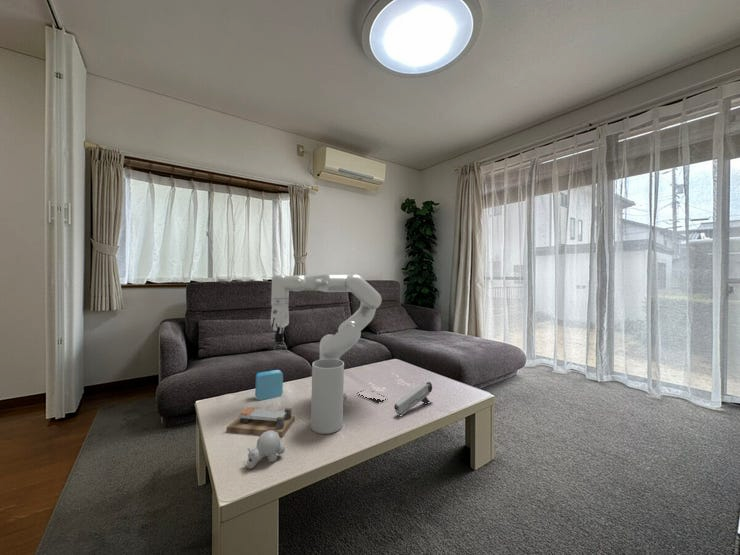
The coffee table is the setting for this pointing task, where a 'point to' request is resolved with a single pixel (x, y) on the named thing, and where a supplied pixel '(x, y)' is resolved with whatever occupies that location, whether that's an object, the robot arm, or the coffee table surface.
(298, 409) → the coffee table surface
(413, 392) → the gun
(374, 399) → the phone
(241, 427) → the latch base
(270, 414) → the latch lever
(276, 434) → the chubby cartoon animal
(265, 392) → the blue rounded block
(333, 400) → the cylinder vase
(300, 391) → the coffee table surface
